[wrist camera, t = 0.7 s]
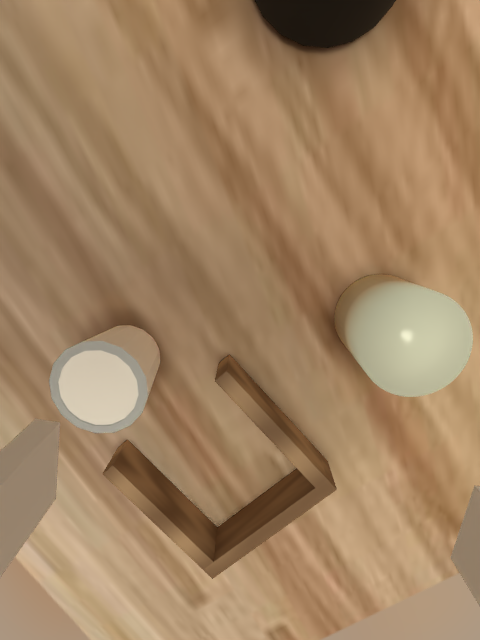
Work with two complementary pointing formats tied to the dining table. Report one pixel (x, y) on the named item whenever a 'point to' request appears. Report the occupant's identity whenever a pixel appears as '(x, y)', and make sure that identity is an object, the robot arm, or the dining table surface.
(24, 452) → the robot arm
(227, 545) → the bay
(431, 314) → the cream rounded cylinder
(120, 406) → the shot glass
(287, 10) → the coffee jar
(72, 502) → the dining table surface
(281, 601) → the dining table surface
